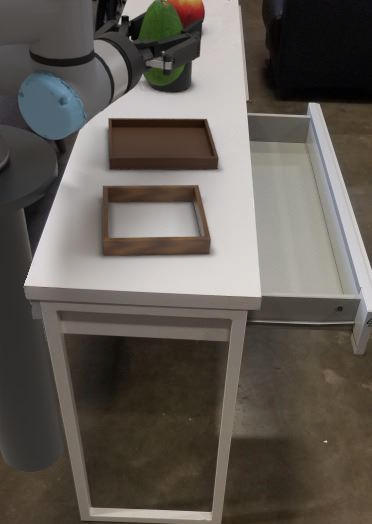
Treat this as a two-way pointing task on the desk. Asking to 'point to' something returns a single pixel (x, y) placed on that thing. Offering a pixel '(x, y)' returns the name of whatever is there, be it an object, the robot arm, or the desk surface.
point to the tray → (161, 144)
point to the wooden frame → (155, 243)
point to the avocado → (161, 35)
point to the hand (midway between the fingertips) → (175, 24)
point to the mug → (178, 81)
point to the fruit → (188, 10)
